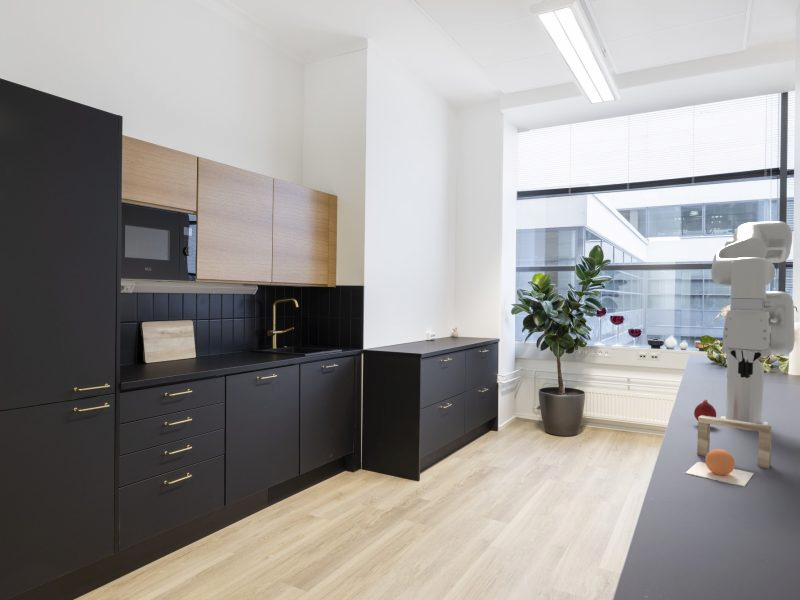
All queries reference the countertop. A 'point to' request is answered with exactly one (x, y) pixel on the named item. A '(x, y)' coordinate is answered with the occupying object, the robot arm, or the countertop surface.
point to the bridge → (763, 430)
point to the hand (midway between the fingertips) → (745, 377)
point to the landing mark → (733, 478)
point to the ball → (720, 462)
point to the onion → (704, 410)
